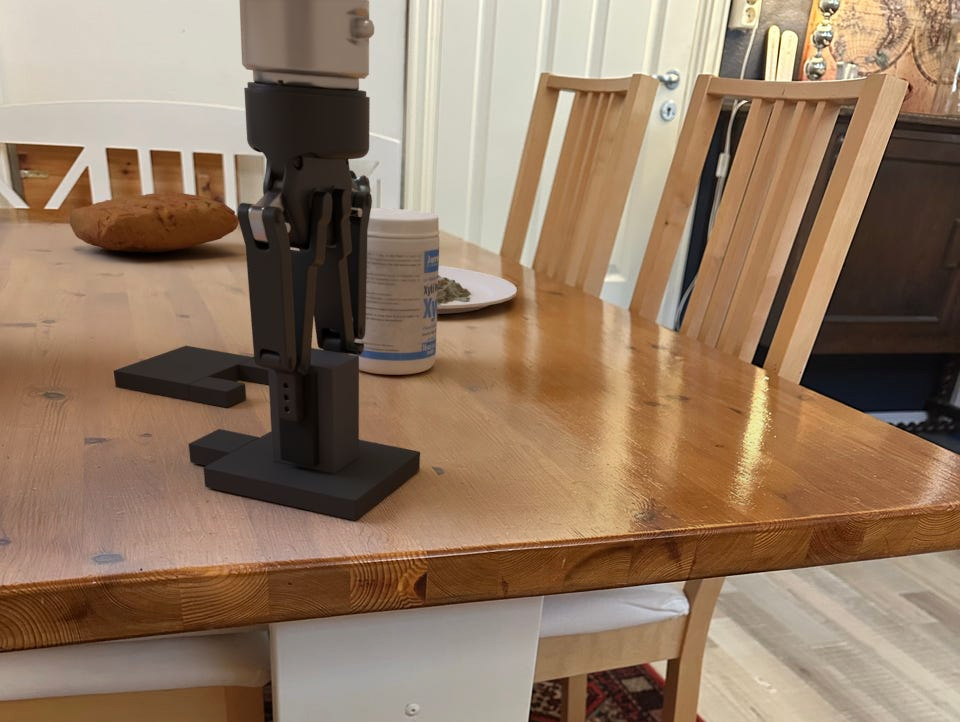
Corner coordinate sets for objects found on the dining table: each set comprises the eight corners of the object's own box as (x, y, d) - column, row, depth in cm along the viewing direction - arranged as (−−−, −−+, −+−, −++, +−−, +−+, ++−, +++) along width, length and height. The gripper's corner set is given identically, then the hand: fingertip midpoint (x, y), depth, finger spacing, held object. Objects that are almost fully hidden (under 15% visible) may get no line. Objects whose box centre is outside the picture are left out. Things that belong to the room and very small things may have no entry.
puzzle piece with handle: (161, 477, 67) (146, 352, 63) (244, 434, 76) (237, 321, 72) (355, 520, 63) (355, 390, 59) (419, 469, 72) (424, 352, 68)
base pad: (115, 386, 85) (113, 370, 85) (187, 360, 94) (185, 345, 94) (228, 408, 82) (226, 391, 81) (291, 378, 91) (290, 363, 90)
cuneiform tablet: (199, 240, 157) (195, 188, 152) (248, 258, 146) (244, 202, 142) (65, 246, 144) (56, 189, 140) (108, 266, 133) (100, 204, 129)
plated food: (552, 318, 123) (555, 291, 121) (330, 323, 112) (330, 294, 110) (467, 274, 146) (468, 251, 144) (277, 275, 135) (276, 251, 133)
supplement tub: (444, 377, 95) (451, 221, 87) (352, 378, 93) (351, 218, 85) (423, 353, 103) (428, 208, 95) (338, 353, 100) (336, 204, 93)
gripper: (289, 82, 48) (303, 501, 60) (420, 88, 62) (410, 427, 74) (167, 72, 50) (204, 479, 62) (320, 80, 64) (326, 411, 76)
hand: (316, 450), depth 68 cm, fingers closed on puzzle piece with handle, 4 cm apart
